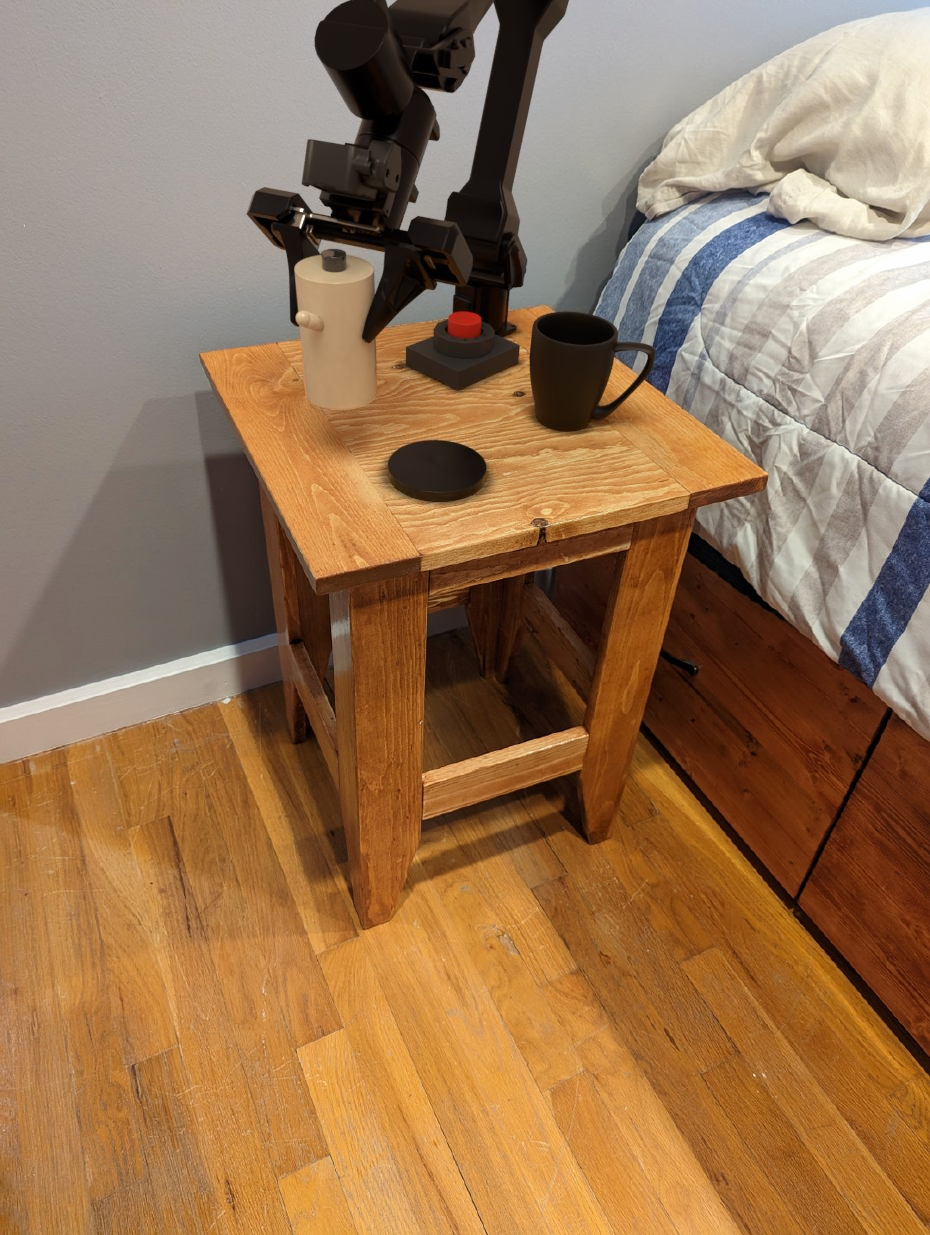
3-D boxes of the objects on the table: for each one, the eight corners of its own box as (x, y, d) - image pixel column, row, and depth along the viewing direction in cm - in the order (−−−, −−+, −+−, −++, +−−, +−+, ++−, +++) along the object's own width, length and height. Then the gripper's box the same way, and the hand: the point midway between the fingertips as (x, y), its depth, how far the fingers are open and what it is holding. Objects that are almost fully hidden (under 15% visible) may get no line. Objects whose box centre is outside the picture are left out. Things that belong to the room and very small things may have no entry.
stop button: (463, 324, 96) (464, 308, 95) (487, 334, 94) (488, 318, 93) (440, 332, 94) (441, 317, 93) (464, 343, 92) (465, 327, 91)
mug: (632, 452, 84) (651, 360, 78) (513, 428, 86) (523, 336, 80) (645, 414, 90) (664, 325, 84) (534, 393, 92) (544, 305, 86)
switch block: (466, 340, 101) (468, 307, 99) (518, 363, 98) (521, 329, 95) (405, 365, 96) (405, 330, 93) (458, 390, 92) (459, 354, 89)
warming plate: (436, 439, 84) (436, 429, 83) (505, 475, 80) (506, 466, 79) (367, 472, 79) (367, 463, 78) (438, 513, 74) (438, 504, 74)
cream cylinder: (327, 370, 80) (318, 233, 72) (389, 385, 78) (387, 247, 70) (275, 413, 74) (259, 268, 66) (341, 430, 72) (333, 284, 64)
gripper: (244, 74, 67) (181, 264, 67) (466, 107, 62) (399, 312, 62) (305, 162, 78) (251, 325, 77) (497, 196, 73) (441, 370, 73)
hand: (329, 332), depth 72 cm, fingers closed on cream cylinder, 6 cm apart
